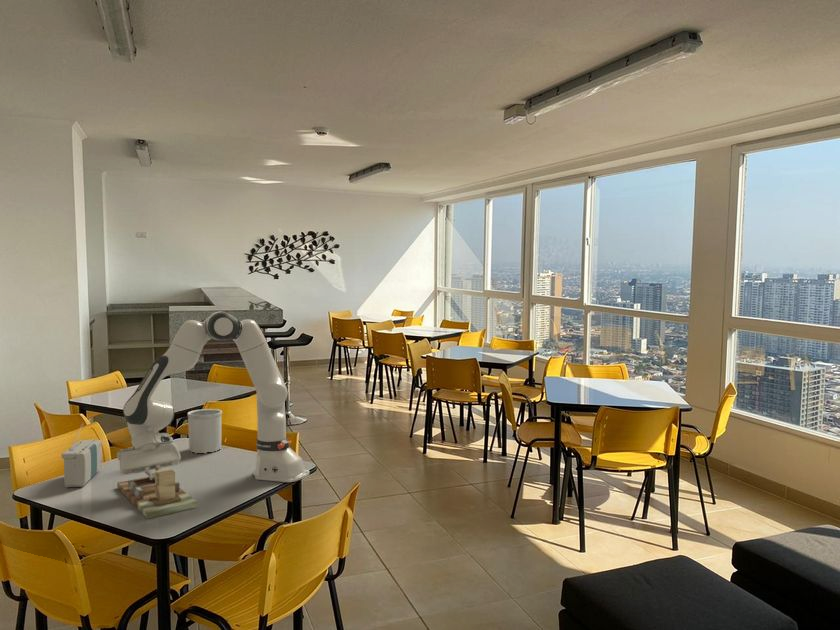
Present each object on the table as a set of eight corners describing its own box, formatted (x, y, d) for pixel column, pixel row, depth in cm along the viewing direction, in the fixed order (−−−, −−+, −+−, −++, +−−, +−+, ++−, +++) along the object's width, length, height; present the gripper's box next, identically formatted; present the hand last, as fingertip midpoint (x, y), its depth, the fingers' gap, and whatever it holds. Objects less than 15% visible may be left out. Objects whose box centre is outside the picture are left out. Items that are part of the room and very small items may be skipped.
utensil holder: (184, 448, 277) (183, 410, 276) (216, 443, 285) (216, 407, 284) (192, 456, 265) (192, 416, 264) (226, 451, 273) (226, 412, 272)
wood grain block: (149, 498, 207) (149, 470, 206) (173, 493, 212) (173, 466, 211) (156, 505, 201) (156, 476, 200) (181, 500, 206) (181, 472, 205)
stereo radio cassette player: (85, 488, 223) (84, 434, 222) (60, 489, 221) (59, 435, 220) (103, 470, 243) (102, 421, 242) (81, 471, 242) (80, 422, 241)
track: (117, 487, 223) (117, 474, 223) (162, 479, 234) (162, 466, 234) (147, 518, 195) (147, 503, 195) (197, 507, 206) (196, 492, 205)
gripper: (117, 445, 213) (125, 479, 206) (176, 436, 226) (185, 468, 219) (114, 455, 216) (122, 489, 210) (172, 445, 230) (181, 477, 223)
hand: (155, 478), depth 214 cm, fingers closed
